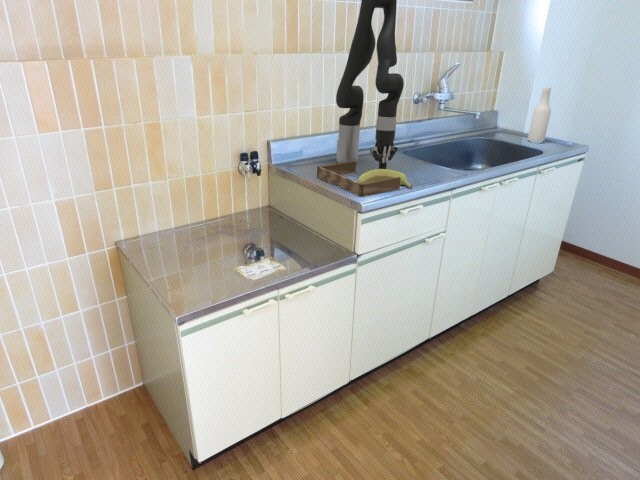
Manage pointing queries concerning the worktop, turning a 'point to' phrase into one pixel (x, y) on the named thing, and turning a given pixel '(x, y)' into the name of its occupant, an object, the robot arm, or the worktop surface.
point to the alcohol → (540, 117)
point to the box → (334, 177)
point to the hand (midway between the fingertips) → (382, 171)
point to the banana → (383, 176)
